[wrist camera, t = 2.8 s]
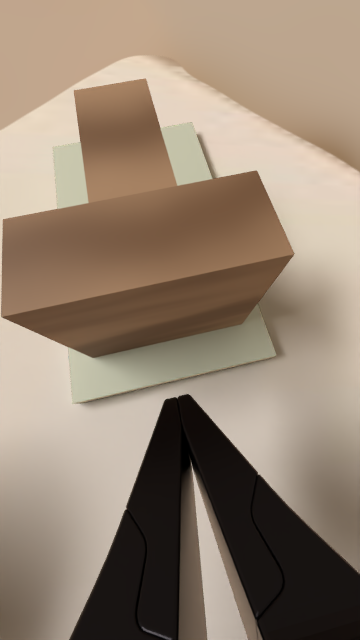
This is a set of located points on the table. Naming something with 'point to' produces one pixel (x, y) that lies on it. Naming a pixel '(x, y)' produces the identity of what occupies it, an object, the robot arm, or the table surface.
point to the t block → (139, 241)
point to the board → (170, 356)
